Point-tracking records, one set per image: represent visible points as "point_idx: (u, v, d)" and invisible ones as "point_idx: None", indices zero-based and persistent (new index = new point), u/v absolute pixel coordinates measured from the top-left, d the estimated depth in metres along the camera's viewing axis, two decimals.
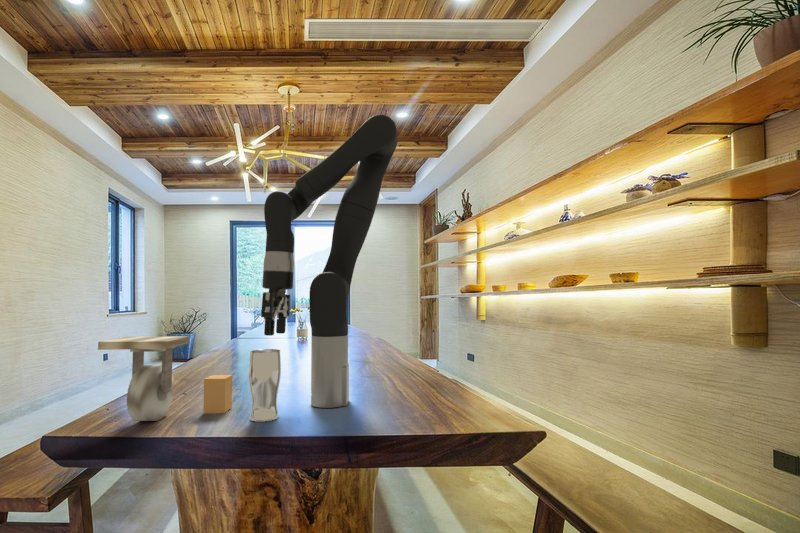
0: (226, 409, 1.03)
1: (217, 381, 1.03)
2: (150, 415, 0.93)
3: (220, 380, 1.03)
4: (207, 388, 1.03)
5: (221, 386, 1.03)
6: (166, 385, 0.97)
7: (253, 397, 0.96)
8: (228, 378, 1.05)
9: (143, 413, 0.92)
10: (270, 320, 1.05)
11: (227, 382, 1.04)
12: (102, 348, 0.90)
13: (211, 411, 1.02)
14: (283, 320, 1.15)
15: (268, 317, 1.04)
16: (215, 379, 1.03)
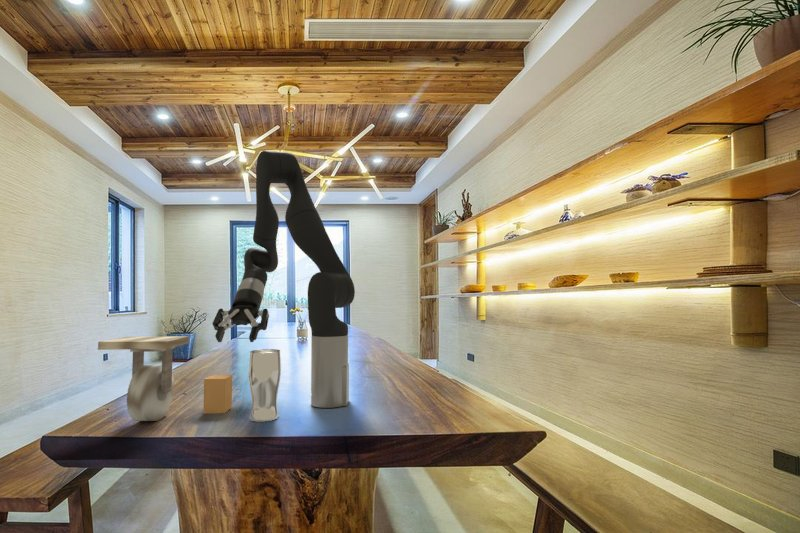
0: (226, 409, 1.03)
1: (217, 381, 1.03)
2: (150, 415, 0.93)
3: (220, 380, 1.03)
4: (207, 388, 1.03)
5: (221, 387, 1.03)
6: (166, 385, 0.97)
7: (253, 397, 0.96)
8: (228, 378, 1.05)
9: (143, 413, 0.92)
10: (218, 328, 1.19)
11: (227, 382, 1.04)
12: (102, 348, 0.90)
13: (211, 411, 1.02)
14: None
15: (215, 326, 1.19)
16: (215, 379, 1.03)
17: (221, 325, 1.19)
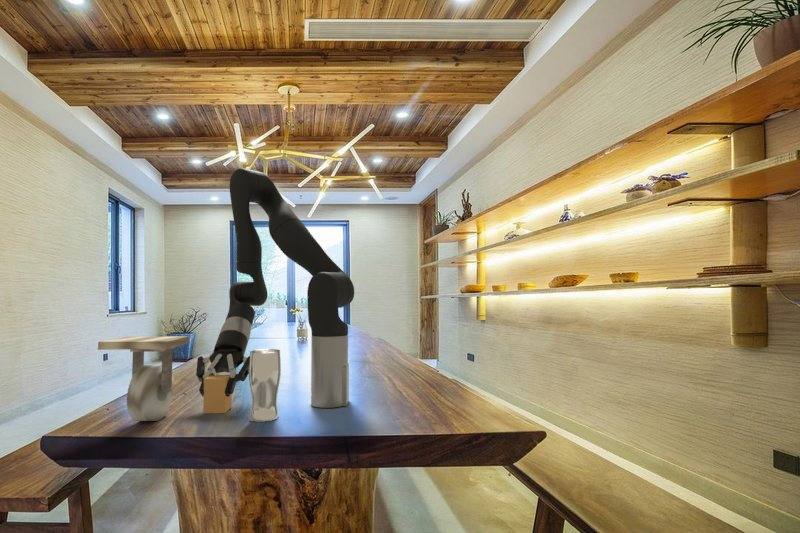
0: (226, 409, 1.03)
1: (217, 381, 1.03)
2: (150, 415, 0.93)
3: (220, 380, 1.03)
4: (207, 388, 1.03)
5: (221, 386, 1.03)
6: (166, 385, 0.97)
7: (253, 397, 0.96)
8: (228, 378, 1.05)
9: (143, 413, 0.92)
10: None
11: (227, 381, 1.04)
12: (102, 348, 0.90)
13: (211, 411, 1.02)
14: None
15: (199, 378, 1.06)
16: (215, 379, 1.03)
17: (206, 376, 1.05)
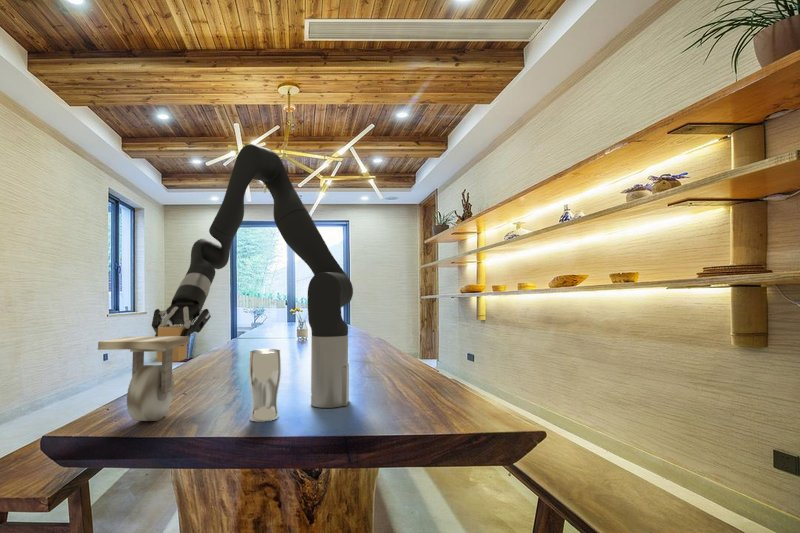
0: (180, 358, 1.06)
1: (171, 330, 1.05)
2: (150, 415, 0.93)
3: (174, 329, 1.05)
4: None
5: (174, 335, 1.05)
6: (166, 385, 0.97)
7: (253, 397, 0.96)
8: (182, 328, 1.07)
9: (143, 413, 0.92)
10: None
11: (181, 331, 1.06)
12: (102, 348, 0.90)
13: None
14: None
15: (154, 328, 1.08)
16: (169, 328, 1.05)
17: None
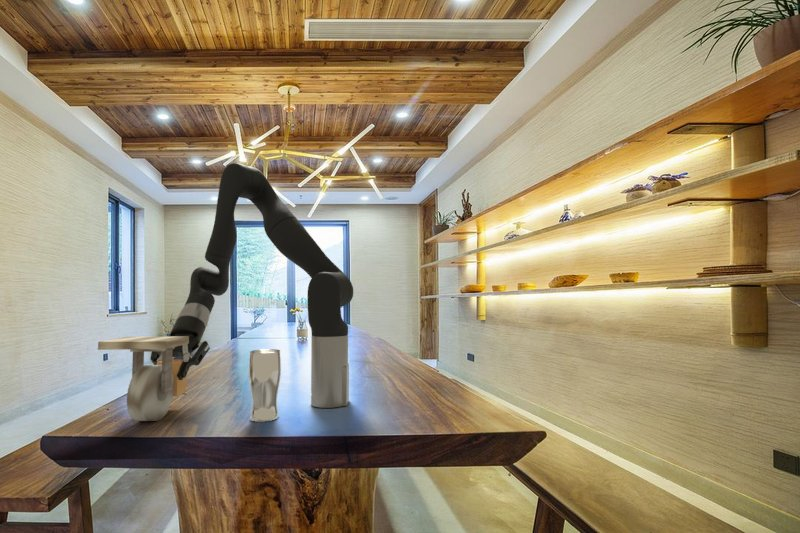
0: (179, 392, 1.05)
1: None
2: (150, 415, 0.93)
3: (172, 363, 1.05)
4: None
5: (173, 370, 1.05)
6: (166, 385, 0.97)
7: (253, 397, 0.96)
8: (181, 362, 1.07)
9: (143, 413, 0.92)
10: (156, 364, 1.07)
11: (180, 365, 1.06)
12: (102, 348, 0.90)
13: None
14: None
15: (153, 362, 1.08)
16: None
17: (160, 360, 1.07)
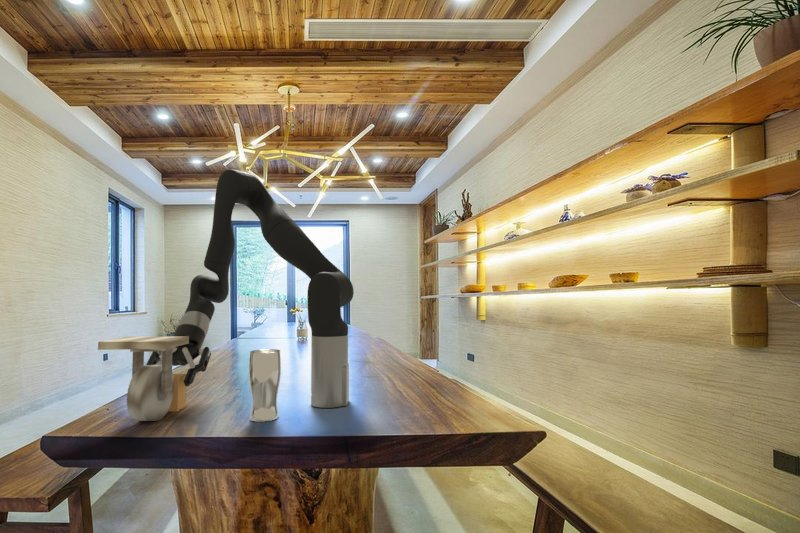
0: (179, 407, 1.05)
1: None
2: (150, 415, 0.93)
3: None
4: None
5: None
6: (166, 385, 0.97)
7: (253, 397, 0.96)
8: (181, 377, 1.07)
9: (143, 413, 0.92)
10: None
11: (180, 380, 1.06)
12: (102, 348, 0.90)
13: None
14: None
15: None
16: None
17: None
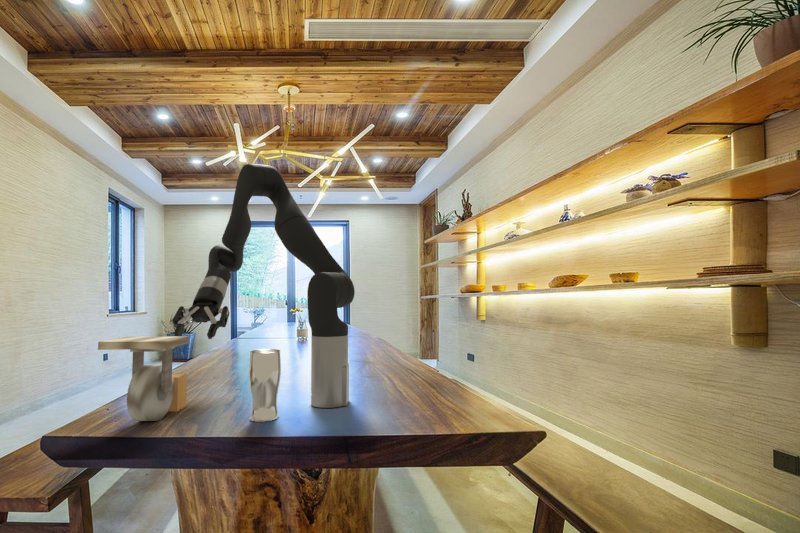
0: (179, 407, 1.05)
1: None
2: (150, 415, 0.93)
3: None
4: None
5: None
6: (166, 385, 0.97)
7: (253, 397, 0.96)
8: (181, 377, 1.07)
9: (143, 413, 0.92)
10: None
11: (180, 380, 1.06)
12: (102, 348, 0.90)
13: None
14: None
15: (174, 324, 1.21)
16: None
17: (180, 322, 1.21)
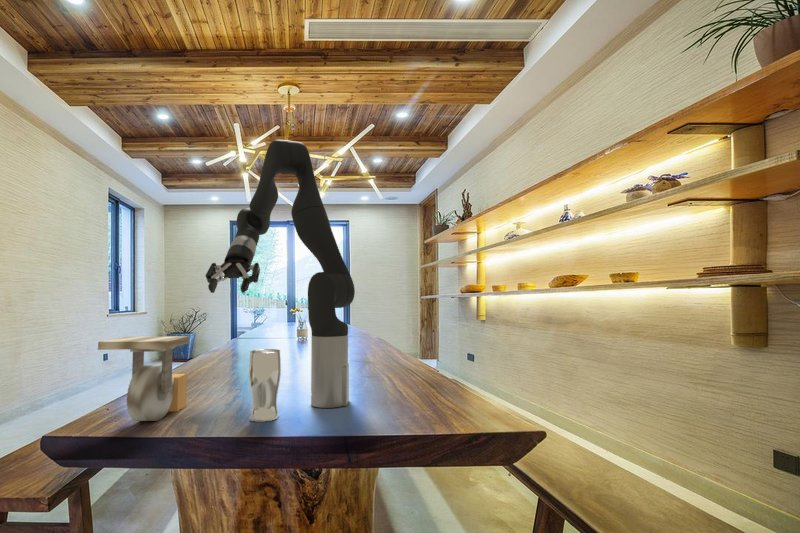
0: (179, 407, 1.05)
1: None
2: (150, 415, 0.93)
3: None
4: None
5: None
6: (166, 385, 0.97)
7: (253, 397, 0.96)
8: (181, 377, 1.07)
9: (143, 413, 0.92)
10: (211, 280, 1.24)
11: (180, 380, 1.06)
12: (102, 348, 0.90)
13: None
14: None
15: (208, 278, 1.25)
16: None
17: (214, 277, 1.24)
